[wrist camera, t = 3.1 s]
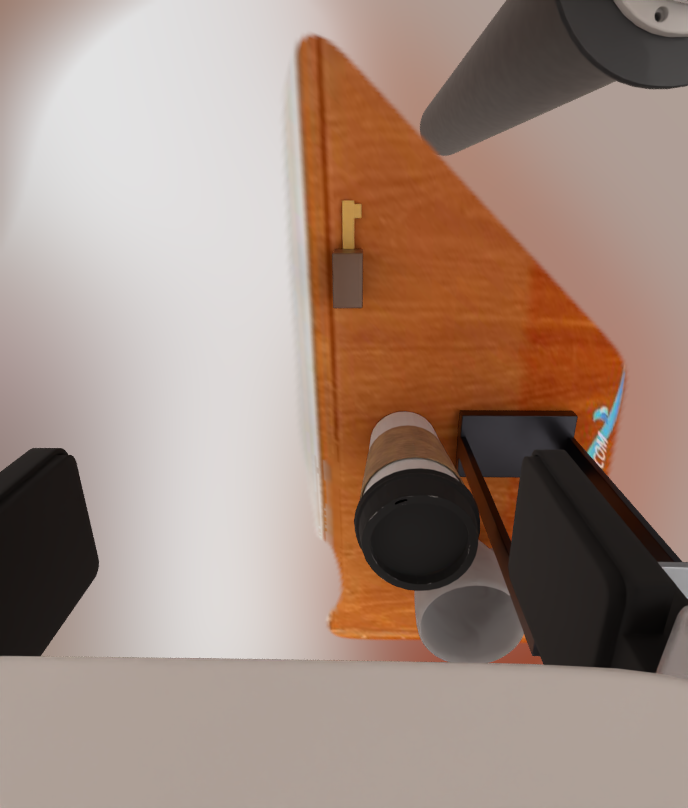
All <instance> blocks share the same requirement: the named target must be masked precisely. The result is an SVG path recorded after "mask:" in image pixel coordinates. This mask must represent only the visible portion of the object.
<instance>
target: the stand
mask: <svg viewBox="0 0 688 808" xmlns="http://www.w3.org/2000/svg"><path fill="white" fill-rule="evenodd" d="M577 417H578V416H577V415H576V414H575V413H574V412H573V411H466V410H461V411H460V415H459V427H458V439H457V452H456V464H455V469H456V470H457V472H458V474H459V476H460V477H466V478H467V480H468V483H469V486H470V488H471V491H472V494H473V497H474V499H475V501H476V503H477V506H478V510H479V513H480V515H481V518H482V521H483V524H484V526H485V529H486V532H487V534H488V537H489V540H490V543H491V545H492V548H493V551H494V553H495V556H496V559H497V561H498V564H499V567H500V570H501V572H502V575H503V578H504V580H505V583H506V586H507V589H508V591H509V594H510V597H511V599H512V602H513V605H514V607H515V610H516V613H517V616H518V618H519V621H520V624H521V626H522V629H523V632H524V634H525V637H526V640H527V643H528V645H529V648H530V651H531V653H532V656H540V654H539V652H538V649H537V647H536V644H535V642H534V639H533V637H532V634H531V632H530V629H529V627H528V624H527V622H526V619H525V617H524V614H523V611H522V609H521V606H520V604H519V601H518V599H517V596H516V594H515V591H514V589H513V586H512V584H511V581H510V577H509V570H508V564H509V556H510V548H511V540H510V538H509V536H508V533H507V531H506V529H505V527H504V524H503V522H502V520H501V517H500V515H499V513H498V510H497V508H496V506H495V503H494V501H493V499H492V496H491V494H490V492H489V489H488V487H487V485H486V482H485V480H484V478H483V477H520V474H521V467H522V461H523V459H524V457H525V456H531V455H532V453H533V451H534V450H565V451H566V452H567V453H568V454H569V456H570V457H571V458H572V459H573V460H574V462H575V463H576V464H577V465H578V466H579V468H580V469H581V470H582V471H583V472H584V474H585V475H586V476H587V477H588V479H589V480H590V481H591V482H592V483H593V485H594V486H595V487H596V488H597V489H598V491H599V492H600V493H601V494H602V495H603V497H604V498H605V499H606V500H607V502H608V503H609V504H610V505H611V506H612V508H613V509H614V510H615V511H616V512H617V514H618V515H619V516H620V517H621V518H622V520H623V521H624V522H625V523H626V525H627V526H628V527H629V528H630V529H631V531H632V532H633V533H634V534H635V535H636V537H637V538H638V539H639V540H640V542H641V543H642V544H643V545H644V546H645V548H646V549H647V550H648V551H649V552H650V554H651V555H652V556H653V557H654V558H655V560H656V561H657V562H682V561H681V560H680V559H679V557H678V556H677V555H676V554H675V553H674V552H673V551H672V549H671V548H670V547H669V546H668V545H667V544H666V543H665V541H664V540H663V539H662V538H661V537H660V536H659V535H658V533H657V532H656V531H655V530H654V529H653V528H652V527H651V525H650V524H649V523H648V522H647V521H646V520H645V519H644V517H643V516H642V515H641V514H640V513H639V512H638V510H637V509H636V508H635V507H634V506H633V505H632V504H631V502H630V501H629V500H628V499H627V498H626V497H625V496H624V494H623V493H622V492H621V491H620V490H619V489H618V488H617V487H616V485H615V484H614V483H613V482H612V481H611V480H610V478H609V477H608V476H607V475H606V474H605V473H604V472H603V470H602V469H601V468H600V467H599V466H598V465H597V464H596V462H595V461H594V460H593V459H592V458H591V457H590V456H589V454H588V453H587V452H586V451H585V450H584V449H583V448H582V446H581V445H580V444H579V443H578V442H577V441H576V439H575V438H574V434H575V428H576V422H577Z"/></svg>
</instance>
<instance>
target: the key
mask: <svg viewBox="0 0 688 808" xmlns="http://www.w3.org/2000/svg"><path fill="white" fill-rule="evenodd" d="M361 217H362V204H354V200H343V201H342V238H343V249H335V250H334V252H333V254H332V263H333V308H362V307H363V249H354V218H361Z"/></svg>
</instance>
